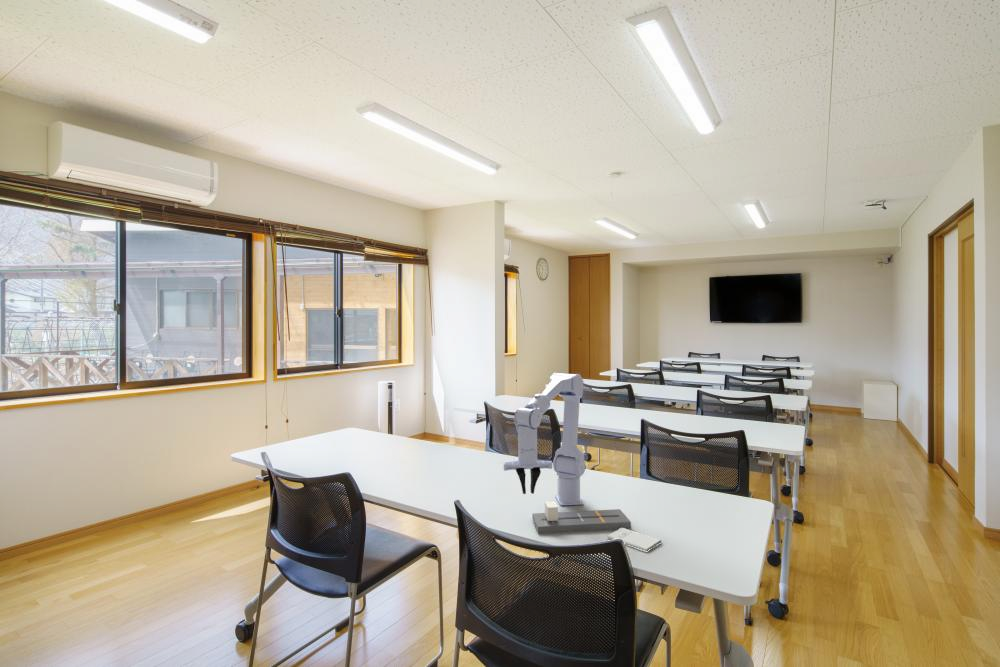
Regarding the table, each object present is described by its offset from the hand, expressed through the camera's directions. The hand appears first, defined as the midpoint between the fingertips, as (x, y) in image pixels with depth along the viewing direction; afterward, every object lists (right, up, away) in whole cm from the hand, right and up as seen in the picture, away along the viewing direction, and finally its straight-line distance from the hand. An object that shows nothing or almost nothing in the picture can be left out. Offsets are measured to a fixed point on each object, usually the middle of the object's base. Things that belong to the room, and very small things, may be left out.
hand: (528, 492), depth 154 cm
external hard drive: (+29, -11, -10) cm, 33 cm away
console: (+16, -10, +2) cm, 19 cm away
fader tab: (+7, -8, +1) cm, 11 cm away
